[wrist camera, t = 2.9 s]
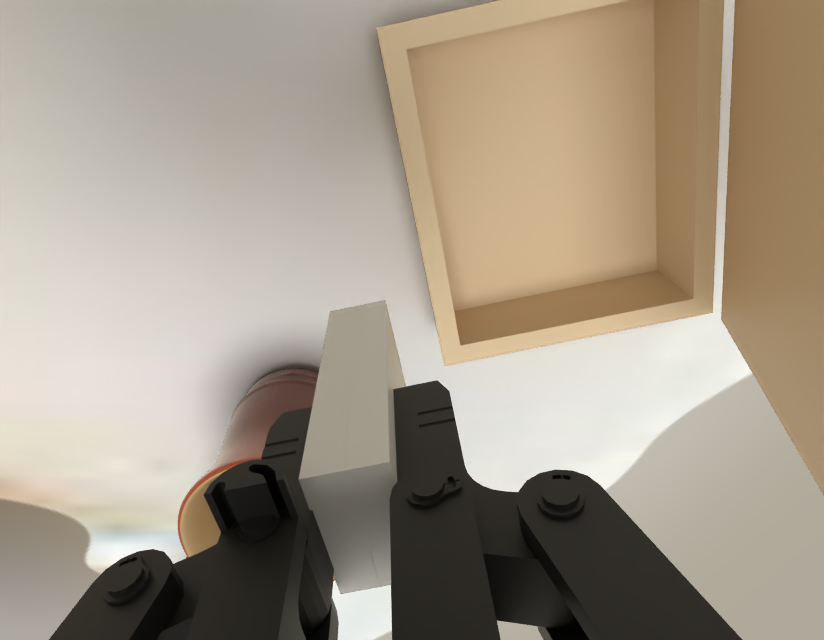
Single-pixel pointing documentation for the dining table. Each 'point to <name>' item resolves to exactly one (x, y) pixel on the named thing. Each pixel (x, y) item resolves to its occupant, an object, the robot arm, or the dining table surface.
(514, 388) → the dining table surface
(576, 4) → the mailer box
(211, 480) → the mug
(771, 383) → the lid
